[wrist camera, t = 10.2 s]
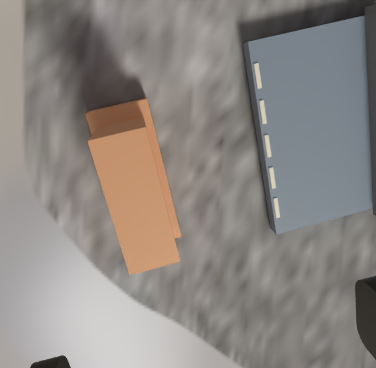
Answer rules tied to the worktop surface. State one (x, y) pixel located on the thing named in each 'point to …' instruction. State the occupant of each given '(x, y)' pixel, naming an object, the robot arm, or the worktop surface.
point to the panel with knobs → (316, 120)
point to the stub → (134, 184)
